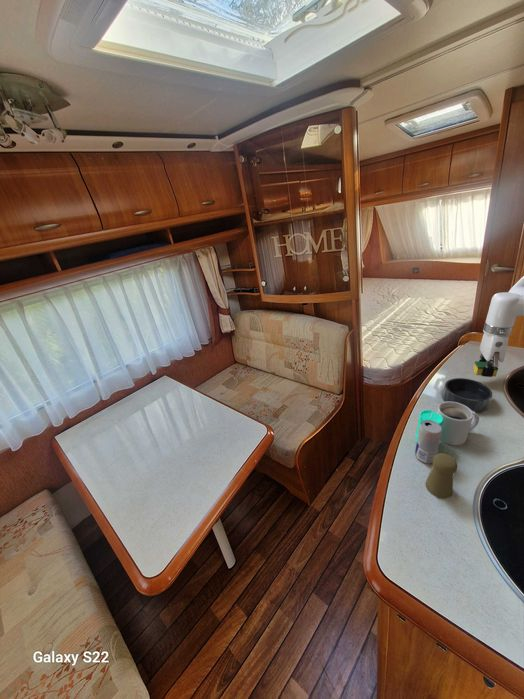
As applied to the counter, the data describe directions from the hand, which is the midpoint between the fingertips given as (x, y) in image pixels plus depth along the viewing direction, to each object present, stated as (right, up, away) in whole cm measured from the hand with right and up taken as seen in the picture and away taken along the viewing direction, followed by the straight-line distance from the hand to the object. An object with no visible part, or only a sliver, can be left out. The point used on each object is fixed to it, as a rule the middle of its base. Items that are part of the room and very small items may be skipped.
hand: (484, 372), depth 103 cm
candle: (-33, -21, -18) cm, 43 cm away
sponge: (0, 0, 0) cm, 0 cm away
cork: (-38, -28, -31) cm, 57 cm away
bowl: (-11, -10, -4) cm, 15 cm away
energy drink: (-36, -24, -22) cm, 49 cm away
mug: (-24, -19, -17) cm, 35 cm away
